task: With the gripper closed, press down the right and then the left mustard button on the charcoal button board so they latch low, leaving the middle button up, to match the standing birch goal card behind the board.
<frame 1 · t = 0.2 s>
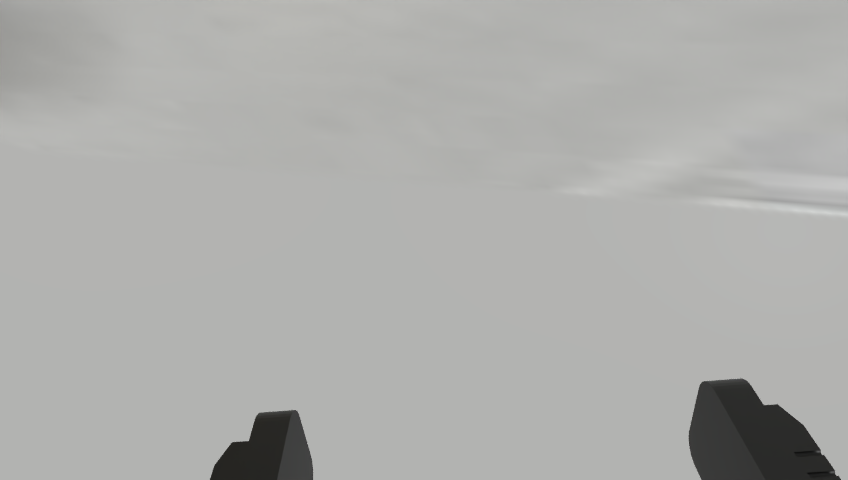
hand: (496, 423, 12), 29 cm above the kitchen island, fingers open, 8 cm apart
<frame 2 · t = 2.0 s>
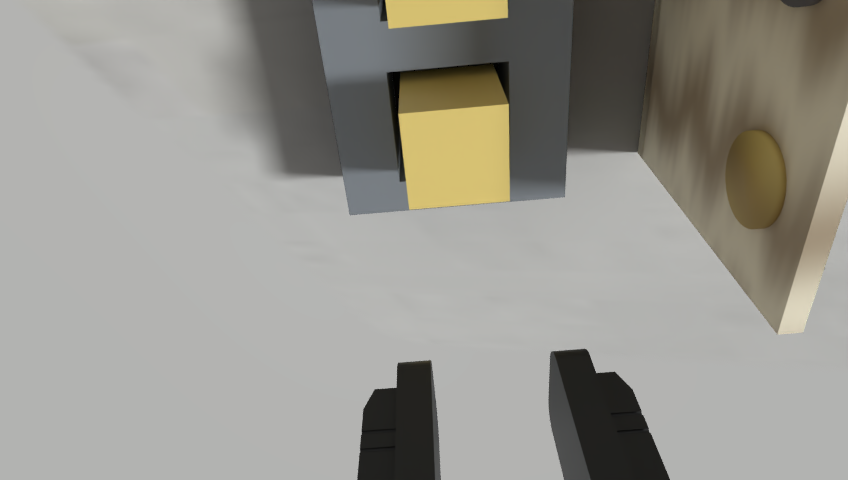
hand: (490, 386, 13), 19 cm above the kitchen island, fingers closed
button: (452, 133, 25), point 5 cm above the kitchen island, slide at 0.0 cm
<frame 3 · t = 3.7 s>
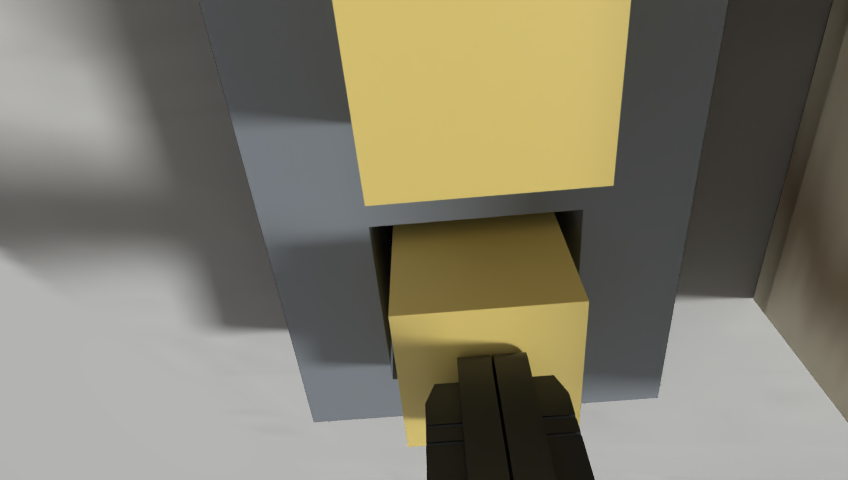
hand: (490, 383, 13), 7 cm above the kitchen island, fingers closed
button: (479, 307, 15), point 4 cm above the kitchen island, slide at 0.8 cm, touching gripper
button mid: (470, 30, 11), point 5 cm above the kitchen island, slide at 0.0 cm
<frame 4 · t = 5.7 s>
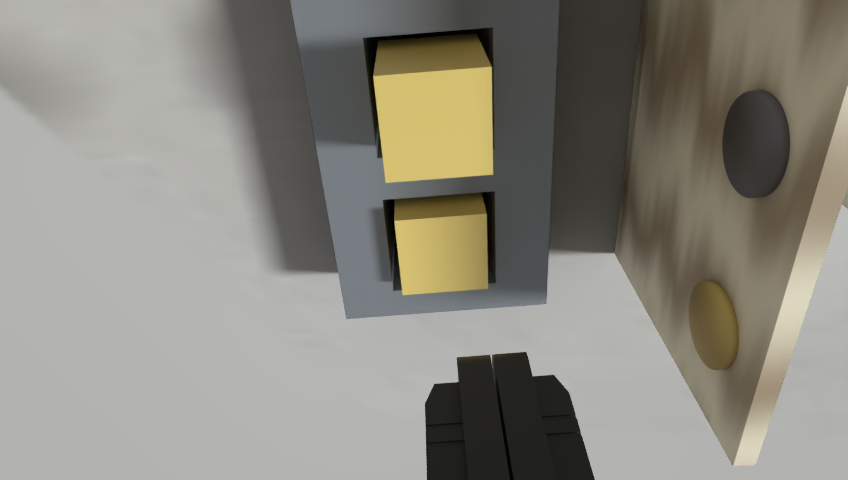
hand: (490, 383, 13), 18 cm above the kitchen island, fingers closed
goal card: (645, 51, 28), on the kitchen island
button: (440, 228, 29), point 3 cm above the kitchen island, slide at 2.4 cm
board: (428, 69, 28), on the kitchen island
button mid: (433, 104, 23), point 5 cm above the kitchen island, slide at 0.0 cm
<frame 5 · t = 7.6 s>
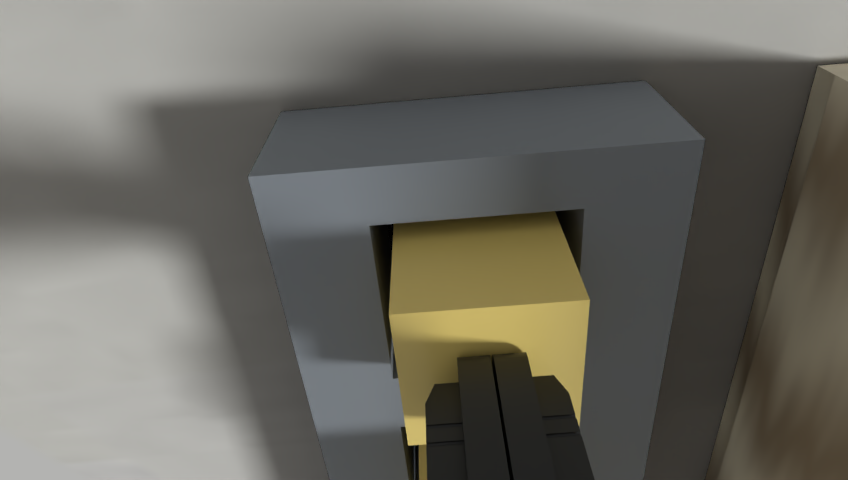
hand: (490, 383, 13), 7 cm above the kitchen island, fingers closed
goal card: (747, 362, 22), on the kitchen island
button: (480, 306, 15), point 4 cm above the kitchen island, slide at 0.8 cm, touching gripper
board: (476, 381, 22), on the kitchen island
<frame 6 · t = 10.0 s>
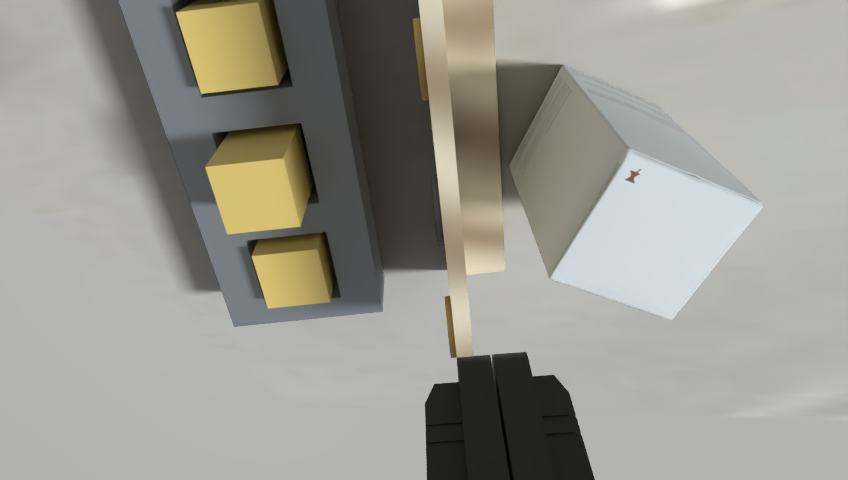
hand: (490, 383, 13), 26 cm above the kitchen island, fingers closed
goal card: (438, 124, 37), on the kitchen island
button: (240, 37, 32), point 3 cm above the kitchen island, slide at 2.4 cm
supplement box: (582, 136, 38), on the kitchen island
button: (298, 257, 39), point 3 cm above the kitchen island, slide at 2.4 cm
board: (280, 142, 38), on the kitchen island
button mid: (264, 176, 33), point 5 cm above the kitchen island, slide at 0.0 cm
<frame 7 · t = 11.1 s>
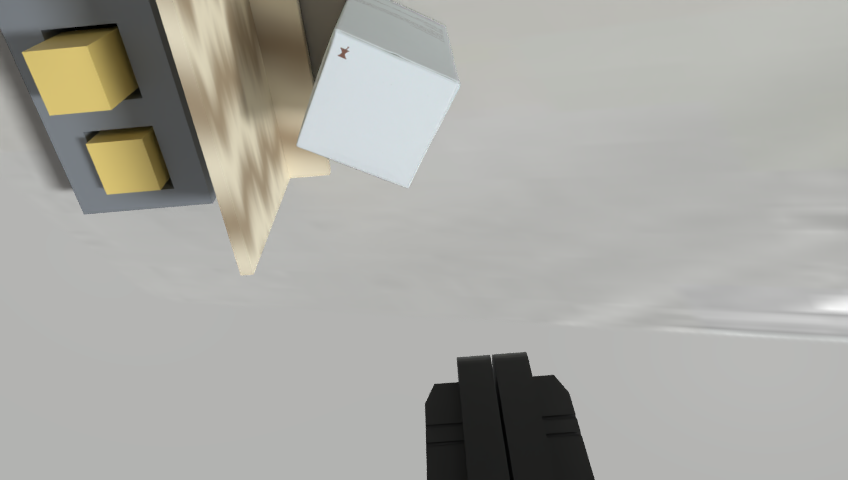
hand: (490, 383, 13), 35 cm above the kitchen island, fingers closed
goal card: (254, 36, 43), on the kitchen island
supplement box: (383, 51, 44), on the kitchen island
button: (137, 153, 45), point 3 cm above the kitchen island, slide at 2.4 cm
board: (118, 49, 43), on the kitchen island
button mid: (86, 69, 39), point 5 cm above the kitchen island, slide at 0.0 cm
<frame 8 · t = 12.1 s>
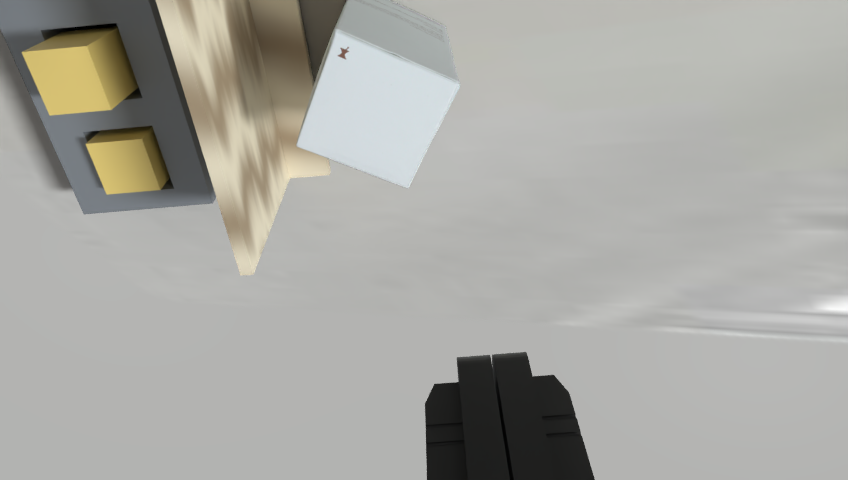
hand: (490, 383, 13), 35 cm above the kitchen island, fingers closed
goal card: (254, 36, 43), on the kitchen island
supplement box: (383, 52, 44), on the kitchen island
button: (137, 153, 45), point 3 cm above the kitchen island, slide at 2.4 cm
board: (117, 49, 43), on the kitchen island
button mid: (86, 69, 39), point 5 cm above the kitchen island, slide at 0.0 cm
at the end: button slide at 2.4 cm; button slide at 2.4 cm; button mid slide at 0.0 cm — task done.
